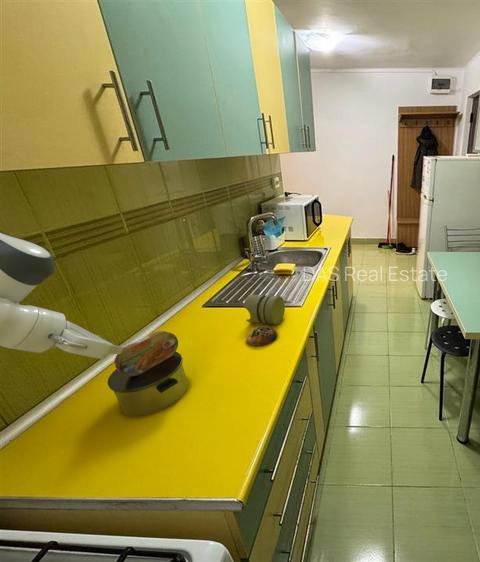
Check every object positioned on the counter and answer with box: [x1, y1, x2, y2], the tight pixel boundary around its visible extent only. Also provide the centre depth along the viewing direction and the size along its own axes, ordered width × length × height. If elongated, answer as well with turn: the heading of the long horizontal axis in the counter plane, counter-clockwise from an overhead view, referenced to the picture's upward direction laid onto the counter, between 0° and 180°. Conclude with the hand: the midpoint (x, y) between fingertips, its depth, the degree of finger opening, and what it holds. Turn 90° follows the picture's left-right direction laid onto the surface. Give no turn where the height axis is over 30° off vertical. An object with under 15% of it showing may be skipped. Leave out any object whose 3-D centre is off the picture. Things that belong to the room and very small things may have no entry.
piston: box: [242, 294, 286, 325], centre depth 123 cm, size 11×12×11 cm
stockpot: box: [106, 351, 189, 417], centre depth 86 cm, size 19×17×9 cm
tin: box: [114, 330, 179, 376], centre depth 84 cm, size 15×3×8 cm, turn 152°
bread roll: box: [245, 325, 278, 347], centre depth 113 cm, size 11×11×5 cm
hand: (111, 345), depth 76 cm, fingers open, 8 cm apart
